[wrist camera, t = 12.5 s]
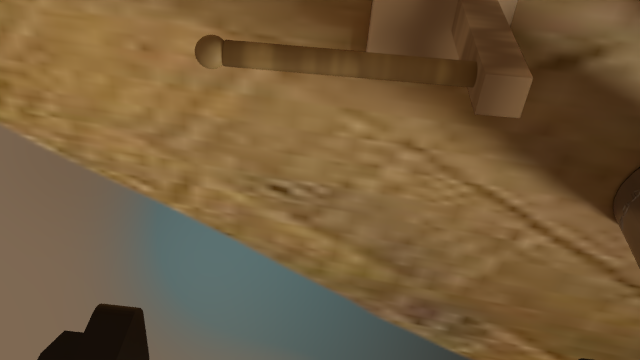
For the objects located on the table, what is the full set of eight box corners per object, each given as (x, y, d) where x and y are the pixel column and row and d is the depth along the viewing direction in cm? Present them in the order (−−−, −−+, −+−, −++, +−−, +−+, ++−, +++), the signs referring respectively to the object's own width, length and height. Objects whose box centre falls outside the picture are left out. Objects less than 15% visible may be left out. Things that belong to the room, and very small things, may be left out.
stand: (531, -67, 37) (585, 8, 28) (490, 79, 43) (524, 176, 35) (220, -94, 37) (179, -27, 28) (224, 56, 43) (192, 148, 34)
